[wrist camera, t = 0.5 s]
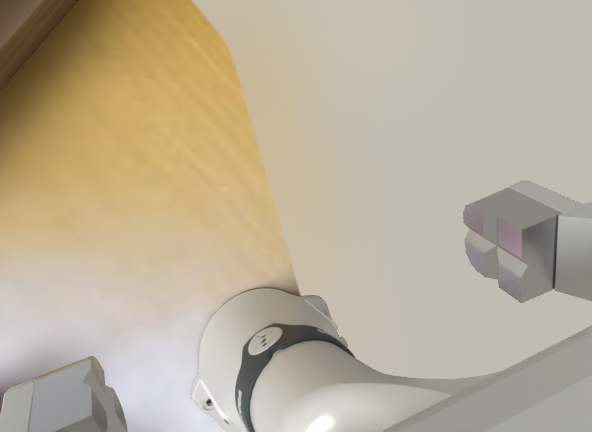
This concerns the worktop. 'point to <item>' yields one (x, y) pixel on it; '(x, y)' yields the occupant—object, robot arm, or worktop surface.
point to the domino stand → (26, 30)
